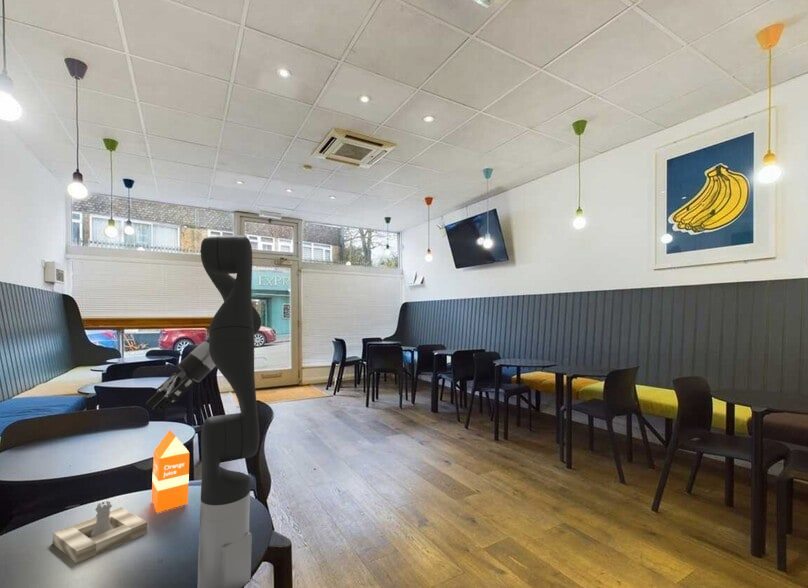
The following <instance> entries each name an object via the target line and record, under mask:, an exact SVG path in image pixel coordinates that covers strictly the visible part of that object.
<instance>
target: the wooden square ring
mask: <svg viewBox="0 0 808 588" xmlns="http://www.w3.org/2000/svg"><path fill="white" fill-rule="evenodd" d="M110 512H111V513H110V514H109V518H110V524H111V526H113V529H112V530H110V531H107V532H105V533H102V534H100V535H97V536H95V537H92V536H91V533H92V531H93V530H94V528H95V525H96V521H97V517H96V516H94V517H92V518H89V519H87V520H83V521H81V522H78V523H75V524H73V525H70V526H67V527H64V528H62V529H60V530H59V529H58V530H56V531H53V532H52V544H53V545H54V546H55V547H56V548H57V549H59V550H60V551H61V552H62V553H63V554H65V555H66V556H67V557H68V558H69V559H70V560H72V561H73V562H74V563H75V564H77V563H80V562H83V561H85V560H87V559H89V558H91V557H94V556H96V555H99V554H101V553H103V552H107V550H110V549H112V548H115V547H117V546H119V545H122V544H124V543H126V542H128V541H130V540H131V541H132V540H133V539H135V538H138V537H140V536H141V535H145V534H147V533H148V522H147V520H145V519H143V518H141V517H139V516H137V515H135V513H132V512H130V511H128V510H126V509H124V508H123V507H119V508H116V509H114V510H110ZM89 536H90V537H89ZM91 537H92V538H91Z"/></svg>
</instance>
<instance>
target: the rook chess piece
mask: <svg viewBox="0 0 808 588" xmlns="http://www.w3.org/2000/svg"><path fill="white" fill-rule="evenodd" d="M112 507H113V505H112V503H111V501H109V500H107V501H101V502H98V504H97V506H96V508H95V509H94V510H95V511H96V512H97V514H96V515H95V517H97V521H96V525H95V528H94V530H93V531H92V533H91V535H90V538H92V537H95V536H97V535H100V534H102V533H105V532H107V531H110V530H112V529H114V528H113V526H111V524H110V518H109V514H110V513H111V508H112Z"/></svg>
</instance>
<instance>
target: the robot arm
mask: <svg viewBox="0 0 808 588" xmlns="http://www.w3.org/2000/svg"><path fill="white" fill-rule="evenodd" d="M200 259H201V263H202V266H203V268H204V271H205V272H206V274H207V276H208V277H209V279H210V280H211V282H212V284H213V285H214V287H215V288H216V289H217V290H218V292H219V294H220V296H221V297H222V300H223V303H222V304H221V306H220V307H219V308H218V309H217V310H216V312H215V314H214V316H213V318H212V319H211V321H210V324H209V327H208V328H209V329H208V330H209V331H208V333H209V334H208V338H206V339H205V340H204V341H203V342H202V343H200V344H199V345H198V346H196V347H195V348H194V349H193V350H192V351H190V353H188V355H187V356H186V357H184V358H183V359H182V361H180V362H178V364H177V366H178V367H177V368H178V369H179V370H180V372H179V373H177V372H174V373H172V375H170V377H168V378H167V379H166V380H165V381H164V382H163V383H162V384H161V385H160V386H158V387H157V391H156V393H154V395H152V397H150V398H149V399H148V400H147V401H146V403H145V404H146V406H148V407H149V408H151V409H152V410H153V411H154V412H156V413H157V414H161V413H162V412H163V411H164V410H165V409H166V408H168V406H169V405H171V403H174V402H178V401H179V400H180V399H181V398H183V396H184V395H185V394H186V392H187V391H189V390H190V389H191V388H192V387H193V386H194V384H195V382H196V383H200V382H201V381H202V380H203V379H204V378H205V377H206V376H208V374H209V373H210V372H212V370H214V368H215V367H216V368H217V369H218V371H219V372H220V373H221V374H222V376H223V377H224V378H225V380H226V381H227V382H228V383H229V385H230V387H231V389H232V391H233V392H234V394H235V396H236V398H237V401H238V404H239V410H240V412H237V413H231V414H229V413H228V414H221V415H214V416H208V417H207V418H206V419H205V420H204V421H203V424H202V427H201V433H200V434H201V435H200V445H201V447H200V449H201V450H200V451H201V480H200V481H201V484H200V486H201V487H200V504H199V505H200V507H199V508H200V509H199V529H198V531H199V532H198V533H199V534H198V557H197V560H198V561H197V586H196V587H197V588H243V587H244V586H246V585H247V584H249V583H251V579H250V578H252V577H251V575H252V573H251V572H252V541H253V540H252V539H253V537H252V536H253V534H252V533H251V532H250V505H251V478H250V476H249V475H247V474H246V473H244V472H240V471H235V470H229V469H226V468H224V467H222V466H220V464H222V463H227V462H232V461H239V460H244V459H248V458H252V457H254V456H256V454H257V453H258V450H259V449H260V448H259V447H260V437H261V436H260V423H259V411H258V404H257V402H258V401H257V394H256V382H255V380H256V379H255V335H256V334H257V333H258V332H259V331H260V329H261V326H262V318H261V316H260V313H258V311H257V309H256V308H255V306H254V305H253V301H252V300H253V299H252V290H253V288H252V287H253V286H252V283H253V281H252V280H253V249H252V244H251V241H250V240H249V238H248V237H247V236H245V235H215V236H214V235H212V236H206V237H204V238H203V239H202V240H201V243H200ZM230 274H231V275H230ZM232 274H233V275H234V274H236V278H235V277H234V276H232ZM248 581H249V582H248ZM247 582H248V583H247Z"/></svg>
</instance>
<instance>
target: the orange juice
mask: <svg viewBox="0 0 808 588" xmlns="http://www.w3.org/2000/svg"><path fill="white" fill-rule="evenodd" d="M190 453H191V452H189V450H188V449H187V447H186V446H185V445H184V444H183V443H182V442H181V441H180V440H179V438H178V437H177V436H176V435H175V434H174V433H173V432H172V431H171V430H170V429H169V430H168V432H166V434H165V436H164V437H163V438H162V440H161V441H160V442H159V444H158V445H157V446H156V448H155V449H154V450H153V459H152V462H153V463H152V476H151V478H152V483H151V485H152V486H151V503H152V502H153V504H154V506H153V508H154V507H155V508H154V510H155V509H156V510H155V513H156V512H157V513H156V514H159V513H158V512H160V513H162V512H161V511H164V510H167V509H171V508H174V507H178V506H181V505H184V504H188V505H189V502H188V499H189V482H190V481H189V480H190V478H189V477H190ZM153 504H152V505H153ZM181 507H182V506H181ZM178 508H179V507H178ZM174 509H175V508H174ZM171 510H172V509H171ZM167 511H168V510H167ZM164 512H165V511H164Z"/></svg>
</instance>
